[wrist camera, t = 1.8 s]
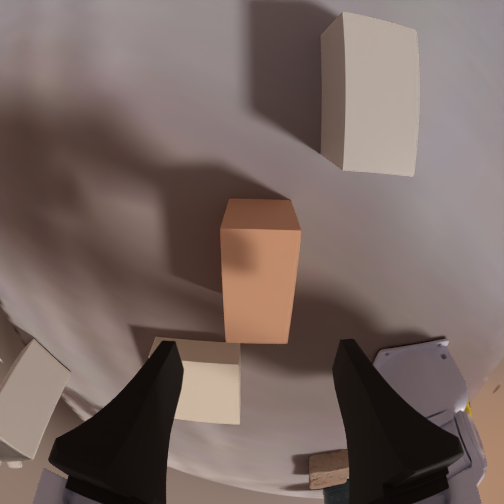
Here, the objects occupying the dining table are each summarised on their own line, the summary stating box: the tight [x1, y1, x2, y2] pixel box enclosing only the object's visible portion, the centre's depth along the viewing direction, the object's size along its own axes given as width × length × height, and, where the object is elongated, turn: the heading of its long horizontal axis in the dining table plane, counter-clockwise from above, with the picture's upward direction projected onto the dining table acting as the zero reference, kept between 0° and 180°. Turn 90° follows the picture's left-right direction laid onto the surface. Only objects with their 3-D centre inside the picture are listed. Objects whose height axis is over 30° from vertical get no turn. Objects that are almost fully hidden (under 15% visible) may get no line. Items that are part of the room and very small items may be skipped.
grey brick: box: [320, 12, 420, 177], centre depth 12 cm, size 4×8×5 cm, turn 1°
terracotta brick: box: [220, 198, 301, 344], centre depth 18 cm, size 4×8×5 cm, turn 179°
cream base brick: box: [148, 337, 240, 424], centre depth 26 cm, size 8×12×3 cm, turn 178°
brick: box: [309, 449, 349, 489], centre depth 42 cm, size 17×8×5 cm, turn 10°
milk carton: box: [0, 339, 71, 468], centre depth 20 cm, size 7×7×19 cm
